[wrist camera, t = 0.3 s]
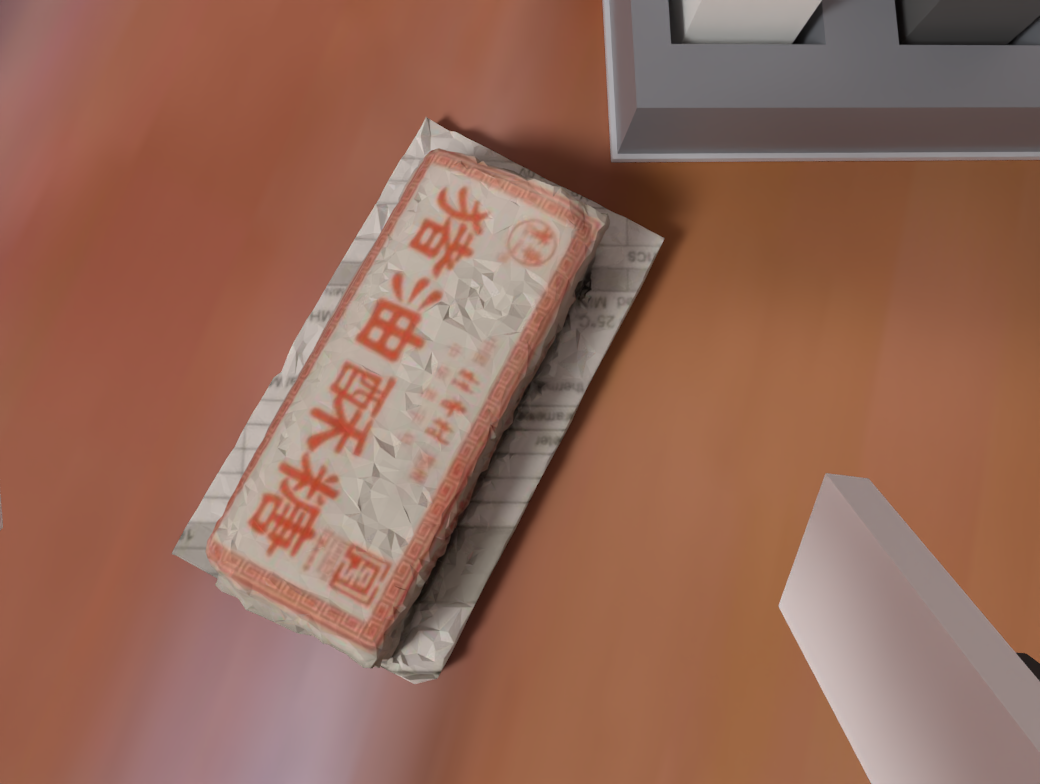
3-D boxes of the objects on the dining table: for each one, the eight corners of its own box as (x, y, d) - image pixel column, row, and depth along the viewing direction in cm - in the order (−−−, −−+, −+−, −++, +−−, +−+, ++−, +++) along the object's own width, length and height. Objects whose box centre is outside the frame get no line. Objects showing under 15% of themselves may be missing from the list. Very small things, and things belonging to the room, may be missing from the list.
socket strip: (1218, 159, 35) (1313, 112, 31) (610, 162, 33) (631, 113, 29) (1179, -79, 37) (1266, -152, 33) (597, -88, 35) (615, -166, 31)
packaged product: (426, 719, 26) (127, 559, 26) (431, 688, 31) (179, 554, 31) (692, 204, 29) (421, 62, 29) (659, 249, 34) (427, 128, 34)
